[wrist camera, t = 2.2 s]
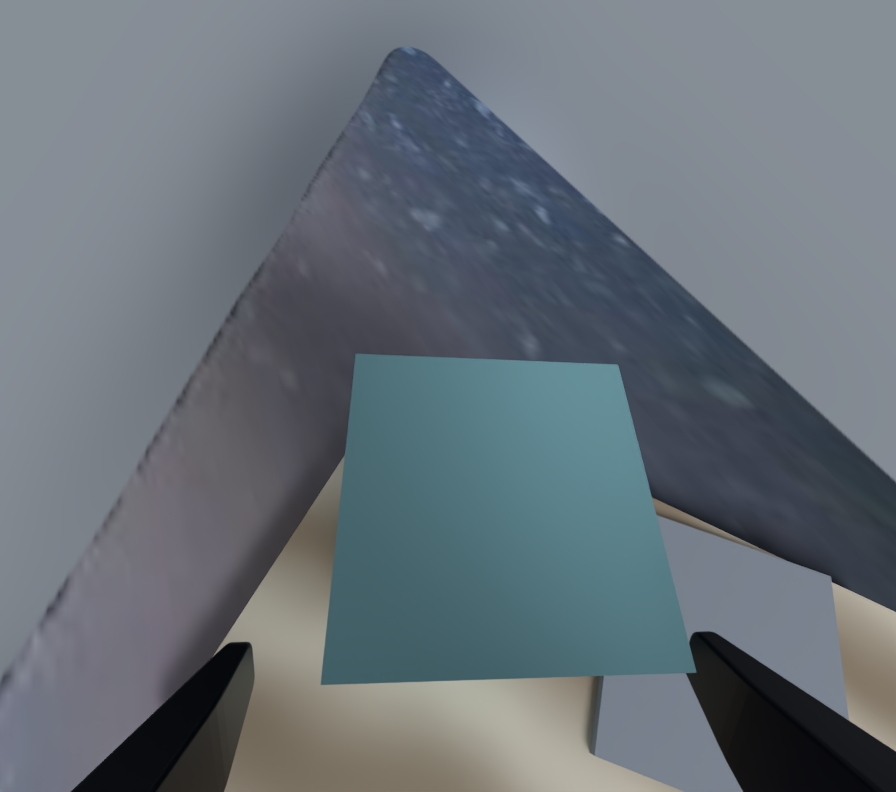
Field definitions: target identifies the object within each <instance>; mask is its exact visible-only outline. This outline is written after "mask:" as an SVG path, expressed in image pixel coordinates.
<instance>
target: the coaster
mask: <svg viewBox="0 0 896 792" xmlns="http://www.w3.org/2000/svg"><path fill="white" fill-rule="evenodd" d="M656 516H657V520H658V523H659V527H660V531H661V535H662V539H663V543H664V547H665V551H666V555H667V559H668V563H669V567H670V570H671V574H672V578H673V582H674V586H675V590H676V594H677V598H678V602H679V606H680V610H681V614H682V617H683V621H684V625H685V629H686V633H687V637H688V641H690V637H691V635H692V634H693V633H694V632H699V631H711V632H715V633H717V634H718V635H720V636H721V637H723V638H724V639H726V640H727V641H729V642H730V643H732V644H733V645H735V646H737V647H738V648H740V649H741V650H743V651H744V652H746V653H747V654H749V655H750V656H752V657H753V658H755V659H756V660H758V661H759V662H761V663H762V664H764V665H765V666H767V667H768V668H770V669H771V670H773V671H774V672H776V673H778V674H779V675H781V676H782V677H784V678H785V679H787V680H788V681H790V682H791V683H793V684H794V685H796V686H797V687H799V688H800V689H802V690H803V691H805V692H806V693H808V694H809V695H811V696H812V697H814V698H816V699H817V700H819V701H820V702H822V703H823V704H825V705H826V706H828V707H829V708H831V709H832V710H834V711H835V712H837V713H838V714H840V715H841V716H843V717H844V718H846V719H847V720H849V716H848V708H847V700H846V692H845V684H844V676H843V668H842V660H841V653H840V645H839V637H838V629H837V621H836V613H835V605H834V597H833V589H832V581H831V576H828V575H825V574H822V573H820V572H817V571H814V570H811V569H808V568H805V567H803V566H800V565H797V564H794V563H791V562H788V561H785V560H783V559H780V558H777V557H774V556H771V555H768V554H766V553H763V552H760V551H757V550H754V549H751V548H749V547H746V546H743V545H740V544H737V543H734V542H732V541H729V540H726V539H723V538H720V537H717V536H715V535H712V534H709V533H706V532H703V531H700V530H698V529H695V528H692V527H689V526H686V525H683V524H680V523H678V522H675V521H672V520H669V519H666V518H663V517H661V516H658V515H656ZM590 753H591V754H592V755H594V756H596V757H598V758H601V759H603V760H606V761H608V762H611V763H613V764H616V765H618V766H621V767H623V768H626V769H628V770H631V771H633V772H636V773H638V774H641V775H643V776H646V777H649V778H651V779H654V780H656V781H659V782H661V783H664V784H666V785H669V786H671V787H674V788H676V789H679V790H681V791H684V792H743V791H742V789H741V787H740V786H739V784H738V782H737V780H736V778H735V777H734V775H733V773H732V771H731V769H730V767H729V765H728V763H727V761H726V760H725V758H724V756H723V753H722V751H721V749H720V747H719V745H718V743H717V741H716V739H715V737H714V734H713V732H712V730H711V728H710V726H709V723H708V721H707V719H706V717H705V715H704V712H703V710H702V708H701V706H700V704H699V701H698V699H697V697H696V695H695V693H694V691H693V688H692V686H691V684H690V682H689V680H688V677H687V675H686V673H673V674H643V675H613V676H599V683H598V691H597V699H596V708H595V716H594V724H593V732H592V740H591V748H590Z"/></svg>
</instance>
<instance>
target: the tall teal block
mask: <svg viewBox="0 0 896 792" xmlns="http://www.w3.org/2000/svg"><path fill="white" fill-rule="evenodd" d="M673 673H697V672H696V668H695V664H694V661H693V657H692V653H691V649H690V645H689V641H688V637H687V633H686V629H685V625H684V621H683V617H682V614H681V610H680V606H679V602H678V598H677V594H676V590H675V586H674V582H673V578H672V574H671V570H670V567H669V563H668V559H667V555H666V551H665V547H664V543H663V539H662V535H661V531H660V527H659V523H658V520H657V516H656V512H655V508H654V504H653V500H652V496H651V492H650V488H649V484H648V480H647V476H646V473H645V469H644V465H643V461H642V457H641V453H640V449H639V445H638V441H637V437H636V433H635V429H634V426H633V422H632V418H631V414H630V410H629V406H628V402H627V398H626V394H625V390H624V386H623V382H622V379H621V375H620V371H619V367H618V365H611V364H588V363H564V362H541V361H517V360H494V359H470V358H447V357H423V356H400V355H376V354H356V356H355V365H354V374H353V384H352V393H351V403H350V412H349V421H348V431H347V440H346V449H345V459H344V468H343V478H342V487H341V496H340V506H339V515H338V525H337V534H336V543H335V553H334V562H333V572H332V581H331V590H330V600H329V609H328V619H327V628H326V637H325V647H324V656H323V666H322V675H321V684H320V685H340V684H370V683H401V682H431V681H461V680H492V679H522V678H552V677H582V676H613V675H643V674H673Z"/></svg>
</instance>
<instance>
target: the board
mask: <svg viewBox="0 0 896 792" xmlns="http://www.w3.org/2000/svg"><path fill="white" fill-rule="evenodd" d="M344 459H345V455H344V457H343V458H342V460H341V462H340V463H339V465H338V466H337V468H336V469H335V471H334V472H333V474H332V475H331V477H330V478H329V480H328V481H327V483H326V484H325V486H324V488H323V489H322V491H321V492H320V494H319V495H318V497H317V498H316V500H315V501H314V503H313V504H312V506H311V507H310V509H309V510H308V512H307V513H306V515H305V517H304V518H303V520H302V521H301V523H300V524H299V526H298V527H297V529H296V530H295V532H294V533H293V535H292V536H291V538H290V539H289V541H288V542H287V544H286V546H285V547H284V549H283V550H282V552H281V553H280V555H279V556H278V558H277V559H276V561H275V562H274V564H273V565H272V567H271V568H270V570H269V572H268V573H267V575H266V576H265V578H264V579H263V581H262V582H261V584H260V585H259V587H258V588H257V590H256V591H255V593H254V594H253V596H252V597H251V599H250V601H249V602H248V604H247V605H246V607H245V608H244V610H243V611H242V613H241V614H240V616H239V617H238V619H237V620H236V622H235V623H234V625H233V626H232V628H231V630H230V631H229V633H228V634H227V636H226V637H225V639H224V640H223V642H222V643H221V645H220V646H219V648H218V649H217V651H216V652H215V654H216V653H217V652H218V651H220V650H221V649H222V648H223V647H224V646H225V645H226V644H228V643H230V642H250V643H251V645H252V649H253V660H254V671H255V680H254V686H253V690H252V694H251V698H250V701H249V705H248V709H247V712H246V716H245V720H244V723H243V727H242V731H241V734H240V738H239V742H238V745H237V749H236V753H235V756H234V760H233V764H232V767H231V771H230V774H229V778H228V781H227V785H226V788H225V791H224V792H684V791H681V790H679V789H676V788H674V787H671V786H669V785H666V784H664V783H661V782H659V781H656V780H654V779H651V778H649V777H646V776H643V775H641V774H638V773H636V772H633V771H631V770H628V769H626V768H623V767H621V766H618V765H616V764H613V763H611V762H608V761H606V760H603V759H601V758H598V757H596V756H594V755H592V754H591V753H590V748H591V740H592V732H593V724H594V716H595V708H596V699H597V691H598V683H599V676H582V677H552V678H522V679H492V680H461V681H431V682H401V683H370V684H340V685H320V684H321V675H322V666H323V656H324V647H325V637H326V628H327V619H328V609H329V600H330V590H331V581H332V572H333V562H334V553H335V543H336V534H337V525H338V515H339V506H340V496H341V487H342V478H343V468H344ZM652 500H653V504H654V508H655V512H656V515H658V516H661V517H663V518H666V519H669V520H672V521H675V522H678V523H680V524H683V525H686V526H689V527H692V528H695V529H698V530H700V531H703V532H706V533H709V534H712V535H715V536H717V537H720V538H723V539H726V540H729V541H732V542H734V543H737V544H740V545H743V546H746V547H749V548H751V549H754V550H757V551H760V552H763V553H766V554H768V555H771V556H774V557H777V556H775V555H773V554H771V553H769V552H767V551H765V550H762V549H760V548H758V547H756V546H754V545H752V544H750V543H748V542H745V541H743V540H741V539H739V538H737V537H735V536H733V535H731V534H729V533H726V532H724V531H722V530H720V529H718V528H716V527H714V526H712V525H709V524H707V523H705V522H703V521H701V520H699V519H697V518H695V517H692V516H690V515H688V514H686V513H684V512H682V511H680V510H678V509H675V508H673V507H671V506H669V505H667V504H665V503H663V502H661V501H658V500H656V499H654V498H652ZM777 558H779V557H777ZM780 559H782V558H780ZM783 560H784V559H783ZM785 561H786V560H785ZM832 589H833V597H834V605H835V613H836V621H837V629H838V637H839V645H840V653H841V660H842V668H843V676H844V684H845V692H846V700H847V708H848V716H849V721H850V722H852V723H853V724H855V725H857V726H858V727H860V728H861V729H863V730H864V731H866V732H867V733H869V734H870V735H872V736H873V737H875V738H876V739H878V740H879V741H881V742H882V743H884V744H885V745H887V746H888V747H890V748H891V749H893V750H894V751H896V612H894V611H892V610H890V609H888V608H886V607H883V606H881V605H879V604H877V603H875V602H873V601H871V600H869V599H866V598H864V597H862V596H860V595H858V594H856V593H854V592H852V591H849V590H847V589H845V588H843V587H841V586H839V585H837V584H835V583H832ZM215 654H214V655H215Z"/></svg>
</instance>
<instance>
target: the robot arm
mask: <svg viewBox="0 0 896 792" xmlns="http://www.w3.org/2000/svg"><path fill="white" fill-rule="evenodd" d="M689 645H690V649H691V653H692V657H693V661H694V664H695V668H696V672H697V673H686V675H687V677H688V680H689V682H690V684H691V686H692V688H693V691H694V693H695V695H696V697H697V699H698V701H699V704H700V706H701V708H702V710H703V712H704V715H705V717H706V719H707V721H708V723H709V726H710V728H711V730H712V732H713V734H714V737H715V739H716V741H717V743H718V745H719V747H720V749H721V751H722V753H723V756H724V758H725V760H726V761H727V763H728V765H729V767H730V769H731V771H732V773H733V775H734V777H735V778H736V780H737V782H738V784H739V786H740V787H741V789H742V791H743V792H896V751H894V750H893V749H891V748H890V747H888V746H887V745H885V744H884V743H882V742H881V741H879V740H878V739H876V738H875V737H873V736H872V735H870V734H869V733H867V732H866V731H864V730H863V729H861V728H860V727H858V726H857V725H855V724H853V723H852V722H850V721H849V720H847V719H846V718H844V717H843V716H841V715H840V714H838V713H837V712H835V711H834V710H832V709H831V708H829V707H828V706H826V705H825V704H823V703H822V702H820V701H819V700H817V699H816V698H814V697H812V696H811V695H809V694H808V693H806V692H805V691H803V690H802V689H800V688H799V687H797V686H796V685H794V684H793V683H791V682H790V681H788V680H787V679H785V678H784V677H782V676H781V675H779V674H778V673H776V672H774V671H773V670H771V669H770V668H768V667H767V666H765V665H764V664H762V663H761V662H759V661H758V660H756V659H755V658H753V657H752V656H750V655H749V654H747V653H746V652H744V651H743V650H741V649H740V648H738V647H737V646H735V645H733V644H732V643H730V642H729V641H727V640H726V639H724V638H723V637H721V636H720V635H718V634H717V633H715V632H711V631H699V632H694V633H693V634H692V635H691V637H690V641H689ZM254 680H255V671H254V660H253V649H252V645H251V643H250V642H230V643H228V644H226V645H225V646H224V647H223V648H222V649H221V650H220V651H218V652H217V653H216V654H215V655H214V656H213V657H212V658H211V659H210V660H209V661H208V662H207V663H206V664H205V665H204V666H203V667H202V668H201V669H200V670H198V671H197V672H196V673H195V674H194V675H193V676H192V677H191V678H190V679H189V680H188V681H187V682H186V683H185V684H184V685H183V686H182V687H181V688H180V689H178V690H177V691H176V692H175V693H174V694H173V695H172V696H171V697H170V698H169V699H168V700H167V701H166V702H165V703H164V704H163V705H162V706H161V707H160V708H158V709H157V710H156V711H155V712H154V713H153V714H152V715H151V716H150V717H149V718H148V719H147V720H146V721H145V722H144V723H143V724H142V725H141V726H140V727H138V728H137V729H136V730H135V731H134V732H133V733H132V734H131V735H130V736H129V737H128V738H127V739H126V740H125V741H124V742H123V743H122V744H121V745H120V746H118V747H117V748H116V749H115V750H114V751H113V752H112V753H111V754H110V755H109V756H108V757H107V758H106V759H105V760H104V761H103V762H102V763H101V764H100V765H99V766H97V767H96V768H95V769H94V770H93V771H92V772H91V773H90V774H89V775H88V776H87V777H86V778H85V779H84V780H83V781H82V782H81V783H80V784H79V785H77V786H76V787H75V788H74V789H73V790H72V791H71V792H224V791H225V788H226V785H227V781H228V778H229V774H230V771H231V767H232V764H233V760H234V756H235V753H236V749H237V745H238V742H239V738H240V734H241V731H242V727H243V723H244V720H245V716H246V712H247V709H248V705H249V701H250V698H251V694H252V690H253V686H254Z"/></svg>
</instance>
